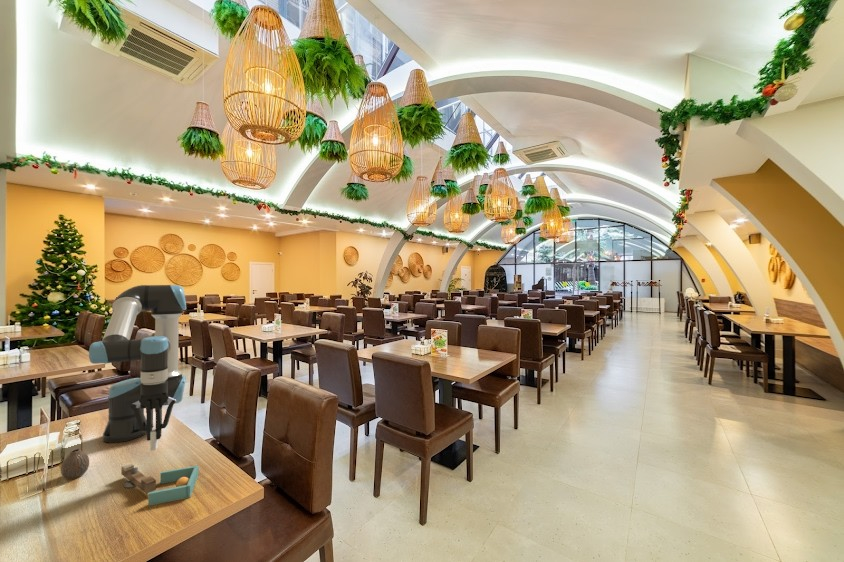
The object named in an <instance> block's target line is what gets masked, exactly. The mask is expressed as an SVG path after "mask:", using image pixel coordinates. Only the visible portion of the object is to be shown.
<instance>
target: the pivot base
mask: <svg viewBox="0 0 844 562" xmlns="http://www.w3.org/2000/svg"><path fill="white" fill-rule="evenodd" d="M123 485H124V486H123V487H124V488H125V489H132V488H136V487H137V486H136V485H134V484H133V483H131V481H129V480H127V481H126V482H125V483H124V484H123Z"/></svg>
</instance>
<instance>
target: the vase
mask: <svg viewBox="0 0 844 562" xmlns="http://www.w3.org/2000/svg"><path fill="white" fill-rule="evenodd" d="M89 467H90V458H89V456H88V455H87V454H86V453H85V452H83V451H82V450H81V448H76V449H75V448H74V449H73V450H70V452H69V454H68V455H67V456H66V458H65V459H64V460H63V461H62V463H61V466H60V474H61V475H62V477H63V478H64V479H66V480H75V479H79V478H80V477H83V475H85V473H86V472H87V471H88V469H89Z"/></svg>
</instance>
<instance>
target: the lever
mask: <svg viewBox="0 0 844 562" xmlns="http://www.w3.org/2000/svg"><path fill="white" fill-rule="evenodd" d="M120 469H121V475H122V476H123V477H124V478H125V479H126V480H127V481H131V483H133V484H134V485H136V487H137V488H138V489H139V490H141V491H142V492H143V493H144V494H146V495H147V494H149V492H153V491H157V480H156V479H155V478H154V477H152V476H151V475H149V476H146V475H145V474H143V473H142V472H140V471H139V470H138V469H139V468H138V467H135V465H134V464H133V463H131V462H128V463H126V464H123V465H121V468H120Z"/></svg>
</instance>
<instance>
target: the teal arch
mask: <svg viewBox="0 0 844 562" xmlns="http://www.w3.org/2000/svg"><path fill="white" fill-rule="evenodd" d="M182 477H187V478H188V479H189V482H188V484H187V485H184V486H179V487H176V486H174V487H170V488H164V489H158V490H155V491H152V492H149V493H148V495H147V496H148V503H147V504H148V506H154V505H158V504H164V503H168V502H174V501H178V500H179V501H180V500H183V499H184V500H185V499H187V498H188V499H189V498H191V496H192V494H193V492H194V488H195V487H196V486H195V485H196V482H197V479H198V477H199V465H193V466H187V467H186V466H185V467H181V468H175V469H170V470H164V471H161V472H160V485H162V484H167V483H168V484H169V483H172V482H173V483H174V482H177V481H178V480H179V479H180V478H182Z"/></svg>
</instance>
